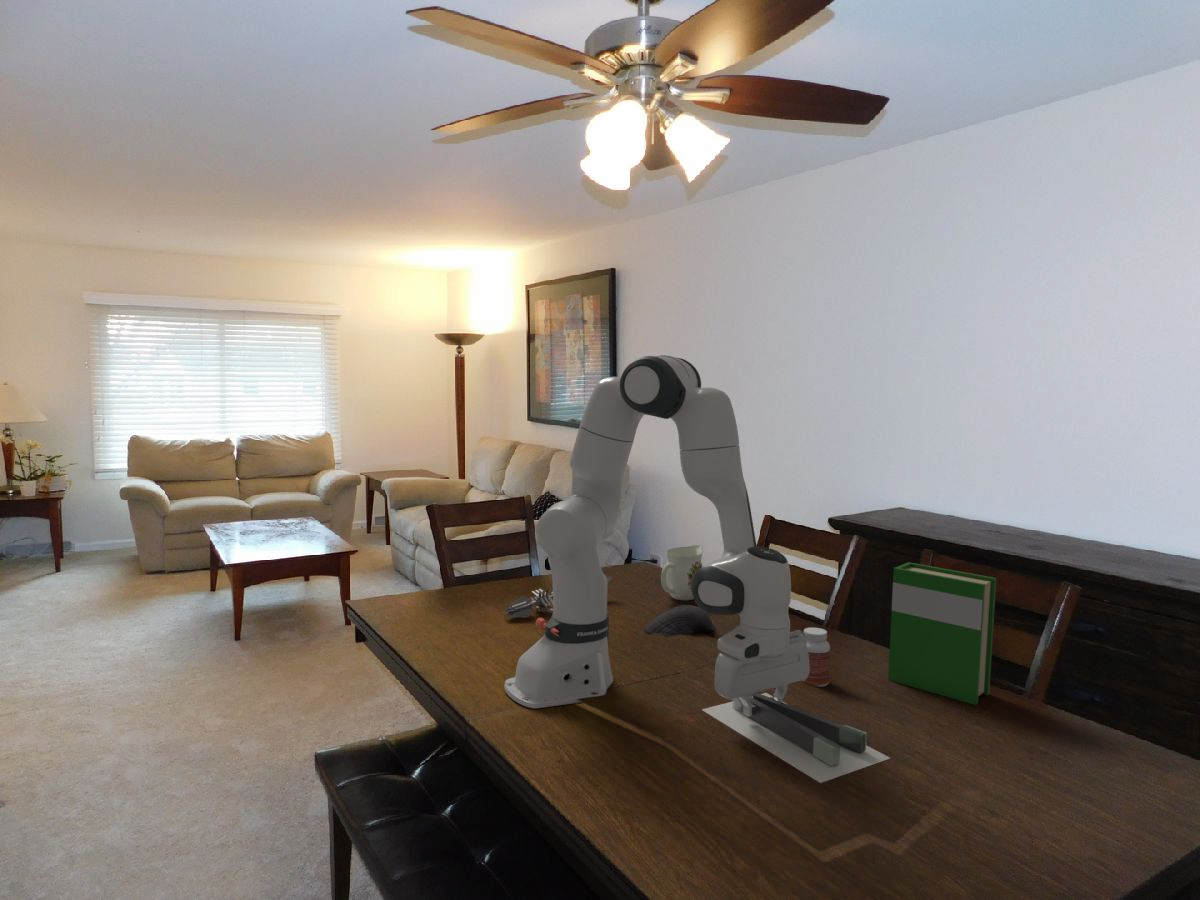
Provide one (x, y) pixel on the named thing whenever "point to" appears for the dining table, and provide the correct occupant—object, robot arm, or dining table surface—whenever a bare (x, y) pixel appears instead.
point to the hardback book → (942, 631)
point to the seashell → (681, 622)
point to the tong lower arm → (793, 731)
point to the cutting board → (793, 746)
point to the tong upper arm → (820, 724)
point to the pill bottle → (818, 657)
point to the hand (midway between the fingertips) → (762, 711)
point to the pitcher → (681, 571)
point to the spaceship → (532, 603)
